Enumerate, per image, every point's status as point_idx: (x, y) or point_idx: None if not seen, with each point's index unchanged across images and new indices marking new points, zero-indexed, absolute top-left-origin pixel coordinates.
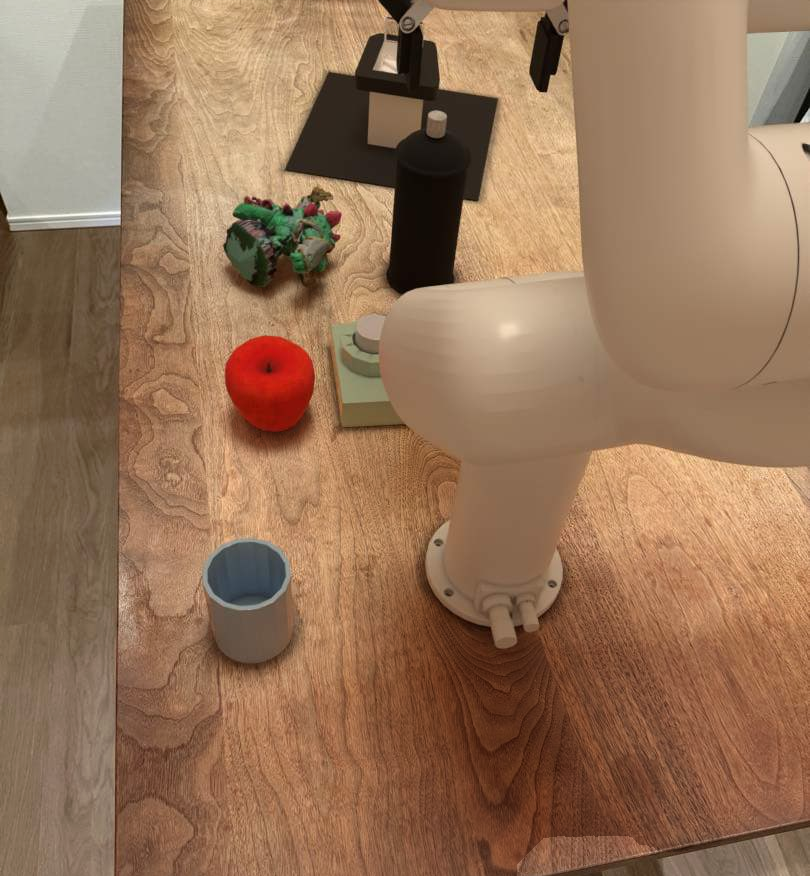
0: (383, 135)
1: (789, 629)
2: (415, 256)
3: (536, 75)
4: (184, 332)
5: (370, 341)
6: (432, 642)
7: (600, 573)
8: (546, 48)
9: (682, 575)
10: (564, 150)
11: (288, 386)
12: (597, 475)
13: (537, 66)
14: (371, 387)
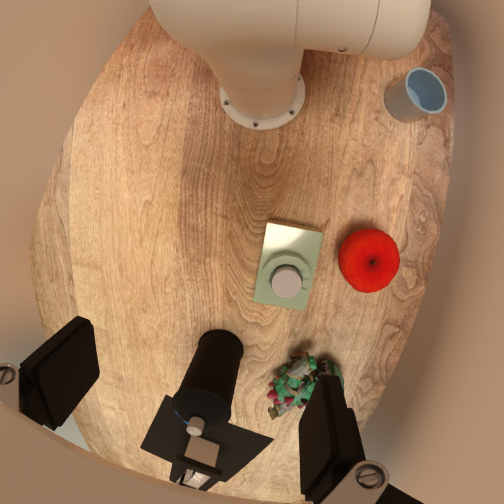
0: (210, 446)
1: (125, 43)
2: (227, 352)
3: (86, 349)
4: (382, 332)
5: (294, 271)
6: (313, 61)
7: (199, 78)
8: (47, 361)
9: (155, 73)
10: (111, 408)
11: (369, 237)
12: (167, 147)
13: (79, 360)
14: (298, 243)
